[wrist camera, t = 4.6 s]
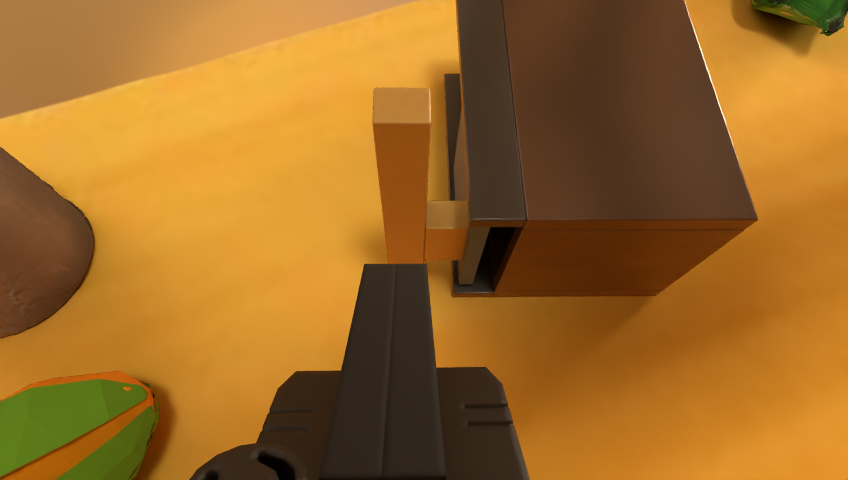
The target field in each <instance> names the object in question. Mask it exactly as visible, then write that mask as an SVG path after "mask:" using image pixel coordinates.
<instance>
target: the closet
mask: <svg viewBox="0 0 848 480" xmlns="http://www.w3.org/2000/svg"><path fill="white" fill-rule="evenodd" d="M456 15H457V32H458V49H459V67H460V74H445V75H444V91H445V116H446V141H447V166H448V191H449V201H455V188H454V160H455V153H456V145H457V138H458V131H459V123H460V116H461V109H462V118H463V135H464V152H465V169H466V187H467V204H468V221H469V227H490V230H489V233H488V236H487V239H486V243H485V246H484V249H483V252H482V255H481V258H480V262H479V265H478V268H477V271H476V274H475V277H474V281H473V284H463V285H460V284H459V275H458V260H451V266H452V290H453V297H492V296H494V297H501V296H656V295H657V294H659V293H660V292H661V291H663V290H664V289H665V288H667V287H668V286H670V285H671V284H672V283H674V282H675V281H676V280H678V279H679V278H680V277H682V276H683V275H684V274H686V273H687V272H688V271H690V270H691V269H693V268H694V267H695V266H697V265H698V264H699V263H701V262H702V261H703V260H705V259H706V258H707V257H709V256H710V255H711V254H713V253H714V252H715V251H717V250H718V249H720V248H721V247H722V246H724V245H725V244H726V243H728V242H729V241H730V240H732V239H733V238H734V237H736V236H737V235H738V234H740V233H741V232H743V231H744V229H746V228H748V227H749V226H750V225H752V224H753V223H754V222H756V221H757V220H758V217H757V214H756V211H755V208H754V205H753V202H752V199H751V196H750V193H749V190H748V187H747V184H746V181H745V178H744V175H743V172H742V169H741V166H740V163H739V160H738V157H737V154H736V152H735V149H734V146H733V143H732V140H731V137H730V134H729V131H728V128H727V125H726V122H725V119H724V116H723V113H722V110H721V107H720V104H719V101H718V98H717V95H716V92H715V89H714V86H713V83H712V80H711V78H710V75H709V72H708V69H707V66H706V63H705V60H704V57H703V54H702V51H701V48H700V45H699V42H698V39H697V36H696V33H695V30H694V27H693V24H692V21H691V18H690V15H689V12H688V9H687V6H686V4H685V1H684V0H456Z"/></svg>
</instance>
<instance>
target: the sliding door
mask: <svg viewBox="0 0 848 480" xmlns="http://www.w3.org/2000/svg"><path fill="white" fill-rule="evenodd" d="M373 132H374V141H375V150H376V159H377V168H378V177H379V186H380V195H381V204H382V213H383V222H384V231H385V240H386V249H387V258H388V264H423V262H424V260H458V275H459V284H460V285H463V284H473V281H474V277H475V274H476V271H477V268H478V265H479V262H480V258H481V255H482V252H483V249H484V246H485V243H486V239H487V236H488V233H489V230H490V227H469V221H468V204H467V187H466V169H465V152H464V135H463V118H462V109H461V116H460V123H459V131H458V138H457V145H456V153H455V160H454V188H455V201H427V190H428V172H429V154H430V136H431V94H430V89H429V88H375V89H374V97H373Z"/></svg>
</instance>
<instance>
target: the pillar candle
mask: <svg viewBox="0 0 848 480" xmlns="http://www.w3.org/2000/svg"><path fill="white" fill-rule="evenodd" d="M93 244H94V236H93V233H92V228H91V225H90V223H89V221H88V219H87V218H86V217H84V214H83V212H82V211H81V210H80V209H79V208H78V207H77V206H75V205H74V204H73V203H72V202H70V201H68V200H67V199H64V198H63V197H62V196H60V195H59V194H58V193H57V192H55V191H54V189H53V187H52V186H51V185H49V184H47V183H46V182H44V181H42V180H41V179H40V178H39V177H38V176H36V175H35V174H34V173H33V172H32V171H30V170H29V169H28V168H26V167H25V166H24V165H23V164H22V163H20V162H19V161H18V160H17V159H15V158H14V157H13V156H11V155H10V154H9V153H8V152H6V151H5V150H4V149H3V148H1V147H0V337H5V336H8V335H12V334H16V333H18V332H21V331H23V330H25V329H28V328H30V327H32V326H34V325H36V324H38V323H40V322H42V321H43V320H45V319H46V318H48V317H49V316H50V315H51V314H53V313H54V312H55V311H56V310H57V309H59V308H60V307H61V306H62V305H63V304H64V303H65V302H66V300H67V299H69V298H70V296H71V295H72V294H73V293H74V292H75V290H76V289H77V288H78V286H79V284H80V282H81V280H82V279H83V277H84V275H85V273H86V270H87V268H88V265H89V262H90V260H91V256H92V251H93Z"/></svg>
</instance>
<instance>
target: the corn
mask: <svg viewBox="0 0 848 480" xmlns="http://www.w3.org/2000/svg"><path fill="white" fill-rule="evenodd" d="M154 397H155V395H154V393H153V390H152V389H151V388H150V386H149V384H146V383H143V382H140V381H137V380H135V379H133V378H132V377H130V376H128V375H126V374H125V373H123V372H121V371H116V372H107V373H98V374H88V375H79V376H70V377H60V378H53V379H49V380H45V381H41V382H36V383H32V384H30V385H28V386H26V387H25V388H23V389H21V390H19V391H17V392H16V393H14V394H12V395H10V396H9V397H7V398H5V399H3V400H1V401H0V480H133V479H134V477H135V476H136V475H137V474H138V471H139V469H140V466H141V464H142V461H143V459H144V456H145V454H146V451H147V449H148V446H149V444H150V441H151V439H152V436H153V434H154V431H155V429H156V426H157V424H158V421H159V419H160V418H159V409H158V403H157V402H156V401H155V405H156V411H154V404H153V399H154ZM153 426H154V427H153ZM152 429H153V432H152V434H151V436H150V433H151V431H152ZM149 436H150V438H149ZM148 439H149V440H148Z"/></svg>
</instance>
